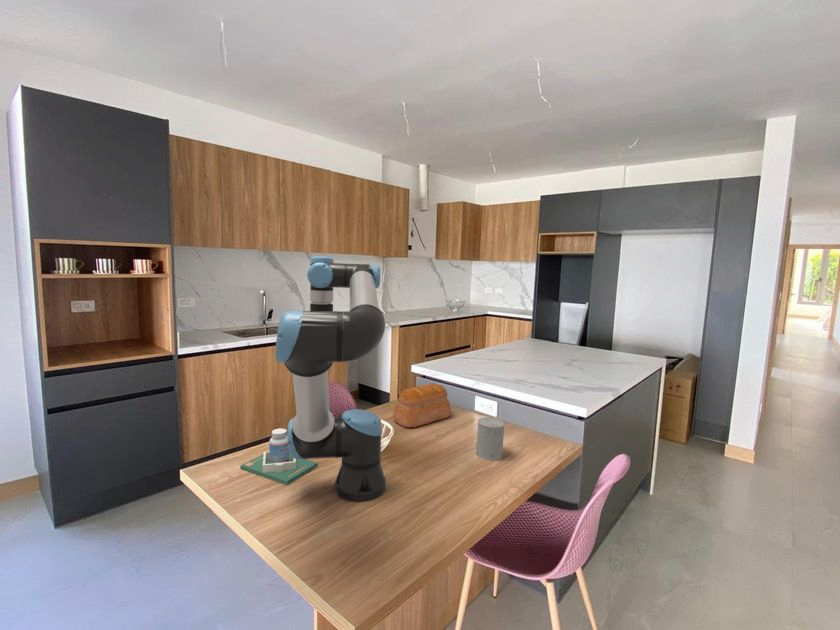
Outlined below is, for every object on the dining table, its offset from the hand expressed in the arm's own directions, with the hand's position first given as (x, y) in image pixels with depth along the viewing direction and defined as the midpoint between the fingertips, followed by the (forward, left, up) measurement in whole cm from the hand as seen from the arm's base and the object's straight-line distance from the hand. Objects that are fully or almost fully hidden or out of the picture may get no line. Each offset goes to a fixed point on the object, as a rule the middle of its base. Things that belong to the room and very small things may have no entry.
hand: (320, 371), depth 144 cm
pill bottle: (+6, +13, -29) cm, 33 cm away
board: (+6, +13, -30) cm, 34 cm away
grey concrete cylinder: (-51, -33, -31) cm, 68 cm away
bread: (-15, -51, -31) cm, 62 cm away
